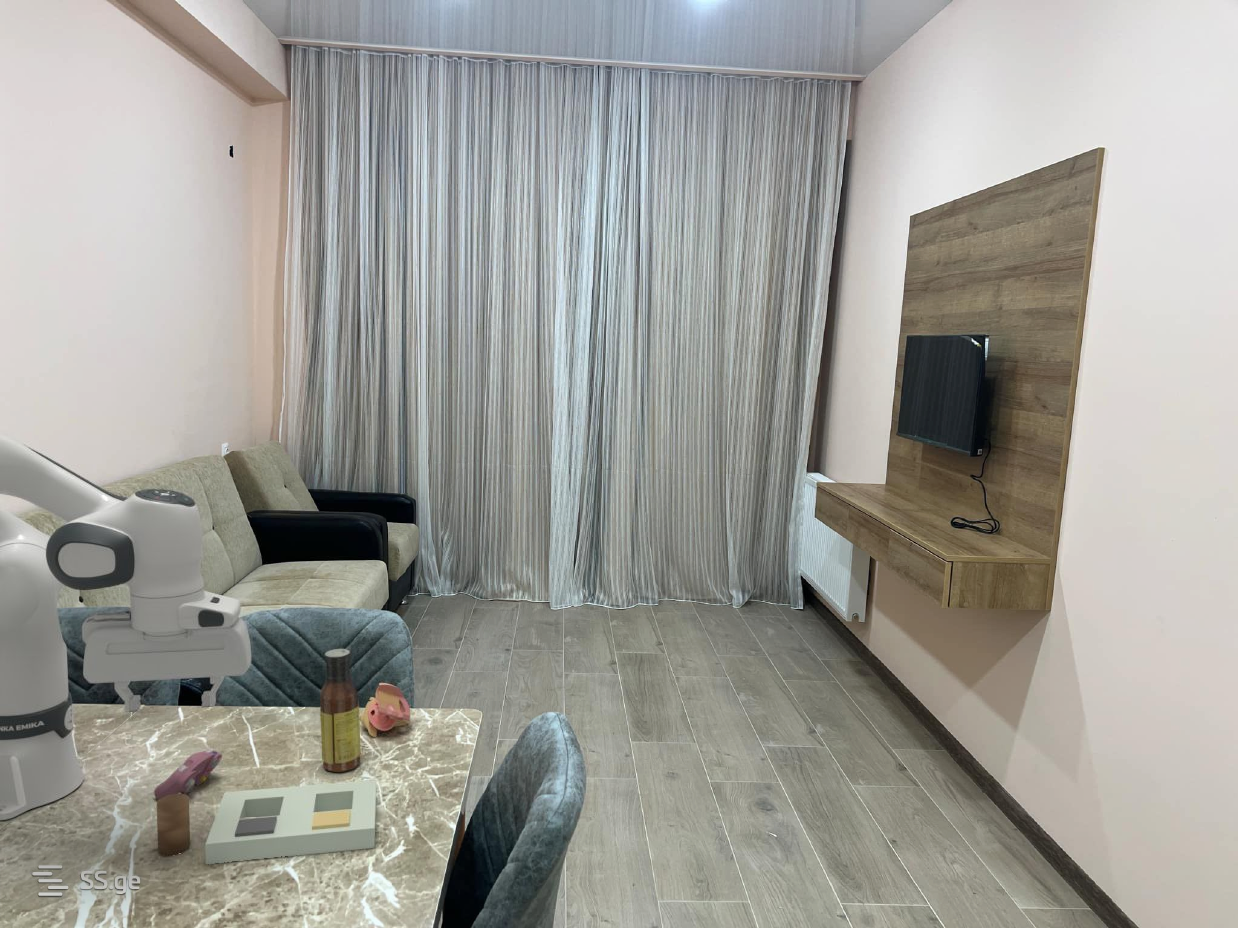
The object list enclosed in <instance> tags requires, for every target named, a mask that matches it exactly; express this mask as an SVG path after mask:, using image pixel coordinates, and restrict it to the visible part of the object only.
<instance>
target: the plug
mask: <svg viewBox="0 0 1238 928" xmlns="http://www.w3.org/2000/svg"><path fill="white" fill-rule="evenodd" d="M190 816H191V815H190V796H189V795H187V794H186V795H185V794H182V793H178V794H171V795H168V796H165V797H163V798H161V799H160V800H158V799H157V802H156V822H157V823H156V824H157V825H156V829H157V834H156V835H157V853H158V854H159V855H160V856H163V857H174V856H173V855H175V856H178V854H179V853H181V854H184V853H186V852H187V851H188V850H189V849H190V847H191V829H190V828H191V825H190V823H191V820H190V819H191V818H190ZM187 849H188V850H187ZM186 850H187V851H186ZM179 855H180V854H179Z"/></svg>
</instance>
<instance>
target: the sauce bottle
mask: <svg viewBox="0 0 1238 928" xmlns="http://www.w3.org/2000/svg"><path fill="white" fill-rule="evenodd" d="M351 658H352V657H351V651H350V650H349V649H346V648H337V649H336V648H335V649H331V650H328V651H326V652H325V653H324V662H325V665H326V666H325V667H326V676H325V678H326V680H325V682H324V684H323V686H322V687H321V689H320V697H319V700H320V709H319V711H320V712H319V715H320V736H321V741H320V743H321V759H322V761H323V763H322V765H323V768H324V769H325V770H326V771H329V772H333V773H344V772H348V771H351V770H355V768H357V767H358V766H359V765H360V762H361V752H362V751H361V750H362V749H361V747H362V746H361V745H362V744H361V729H360V727H361V724H360V723H361V720H360V702H359V696H358V693H357V691H356V689H355V686H354V683H353V680H352V677H351V672H350V671H351V666H350V661H351Z"/></svg>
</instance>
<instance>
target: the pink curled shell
mask: <svg viewBox="0 0 1238 928" xmlns="http://www.w3.org/2000/svg"><path fill="white" fill-rule="evenodd" d="M359 720H360V723H361V725H362V727H364V729H366V730H368V734H369V735H370V736H371V737H374V738H377V730H379V731H382V732H383V731H384V732H386V731H389V730H391V729H392V728H393V727H399V726H404V725H410V720H411V708H410V705H409V703H408V701H407V700H406V699H405V698H404V694H403V692H402V690H401V689H400V688H398V687H397V686H395V685H393V684H390V683H387V682H379V683H378V686H377V688H376V691H375V697H371V696H370V697H369V701H367V703H366V705H365V708H364V710H363V711H362V712H361V714H360V717H359Z"/></svg>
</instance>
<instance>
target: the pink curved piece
mask: <svg viewBox="0 0 1238 928" xmlns="http://www.w3.org/2000/svg"><path fill="white" fill-rule="evenodd" d="M222 758H223V755H222V753H220V752H218V751H216V750H214V749H212V750H211V749H210V748H209V747H207V748H206V749H205V750H203V751H199V752H194V754H191V755H189V756H188V758H187V759H186V760H185V761H184V762H183V764H181V765H179V767H178V768H177V769H176V770H174V771H173V773H171V774H170V776H169V777H168V778H166V780H164V781H163V782H161V783H159V785H157V786H156V788H155V789H154V792H153V793H154V794H153V795H154V798H155V799H156V800H157V801H158V800H160V799H161V798H163V797H165V796H168V795H171V794H186V795H187V794H188V793H190V791H191V790H192V789H193V788H194V786H195V785H197V786H200V785H202V784H203V783H202V782H205V781H206V780H207V778H208V776H209V775H210V773H211V772H212V771H213V770H214V769H216V767H217V766H218V765H219V764H220V762H221V760H222Z"/></svg>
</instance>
